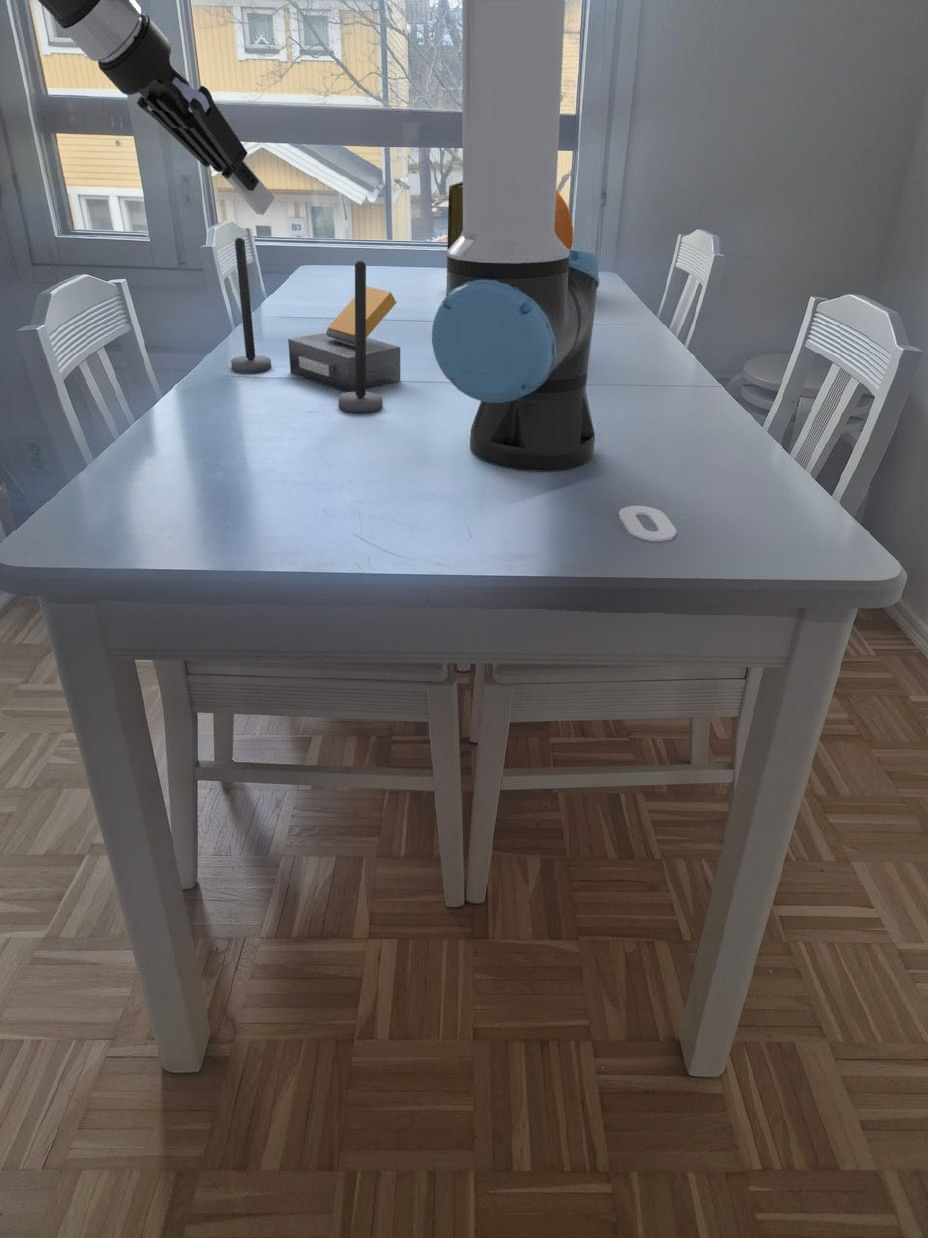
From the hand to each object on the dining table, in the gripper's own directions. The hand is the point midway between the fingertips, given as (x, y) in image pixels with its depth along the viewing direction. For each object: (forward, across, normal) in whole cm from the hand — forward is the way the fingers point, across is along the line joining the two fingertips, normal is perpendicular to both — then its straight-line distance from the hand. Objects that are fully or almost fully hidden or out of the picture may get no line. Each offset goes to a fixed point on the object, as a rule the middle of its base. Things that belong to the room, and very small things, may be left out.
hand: (265, 205), depth 108 cm
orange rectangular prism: (+21, 0, +4) cm, 22 cm away
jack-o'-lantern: (+78, +32, -43) cm, 94 cm away
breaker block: (+25, 0, +8) cm, 27 cm away
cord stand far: (+20, +13, +14) cm, 28 cm away
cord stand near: (+20, -13, +14) cm, 28 cm away
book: (+51, +8, -16) cm, 54 cm away
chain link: (+18, -62, +17) cm, 66 cm away
